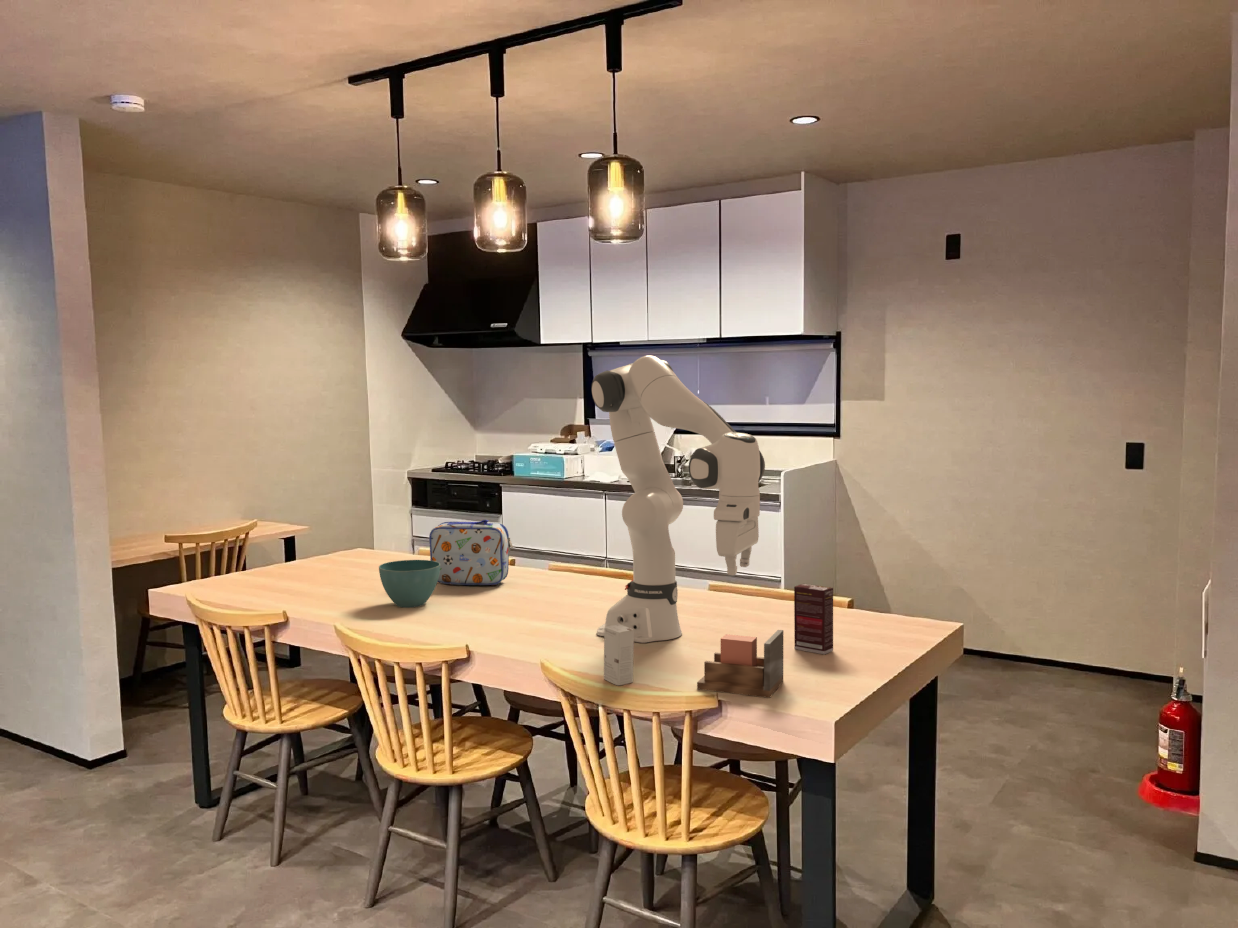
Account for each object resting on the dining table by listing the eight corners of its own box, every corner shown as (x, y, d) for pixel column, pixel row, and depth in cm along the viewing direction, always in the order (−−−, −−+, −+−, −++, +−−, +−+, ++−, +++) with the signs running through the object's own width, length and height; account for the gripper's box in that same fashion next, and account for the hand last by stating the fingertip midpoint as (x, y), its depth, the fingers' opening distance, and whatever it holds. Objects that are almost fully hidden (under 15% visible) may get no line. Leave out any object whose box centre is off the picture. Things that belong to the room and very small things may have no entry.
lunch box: (515, 581, 323) (514, 516, 321) (508, 587, 312) (506, 521, 310) (437, 579, 326) (435, 516, 324) (427, 586, 316) (425, 520, 314)
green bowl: (448, 598, 298) (447, 559, 297) (431, 612, 280) (429, 570, 279) (391, 597, 299) (390, 559, 298) (371, 611, 281) (369, 570, 280)
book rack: (697, 688, 206) (696, 636, 205) (714, 673, 217) (713, 623, 216) (769, 697, 200) (769, 643, 199) (783, 681, 211) (783, 630, 210)
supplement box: (834, 650, 234) (834, 587, 233) (824, 655, 230) (824, 590, 229) (802, 644, 239) (803, 582, 238) (793, 649, 236) (793, 586, 234)
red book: (720, 678, 208) (720, 638, 207) (726, 673, 211) (726, 634, 211) (751, 682, 205) (751, 641, 204) (756, 677, 209) (756, 637, 208)
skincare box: (602, 679, 213) (602, 626, 212) (619, 675, 216) (618, 623, 215) (618, 686, 208) (617, 632, 207) (635, 682, 211) (634, 628, 210)
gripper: (738, 501, 217) (738, 560, 219) (710, 512, 199) (710, 578, 200) (765, 502, 215) (765, 563, 216) (740, 514, 196) (739, 580, 197)
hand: (738, 570), depth 208 cm, fingers open, 8 cm apart
